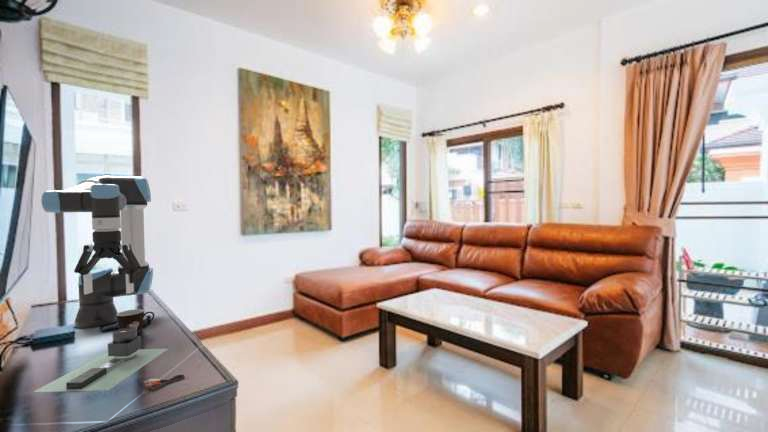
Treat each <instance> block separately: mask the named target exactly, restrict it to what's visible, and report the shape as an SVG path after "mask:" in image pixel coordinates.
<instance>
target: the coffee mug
mask: <svg viewBox="0 0 768 432" xmlns="http://www.w3.org/2000/svg"><path fill="white" fill-rule="evenodd" d="M147 314H151V315H152V317H151V319H149V321H147V322H146V323H145V324H144V325H143V322H144V318H145V316H146V315H147ZM116 316H117V321H116V322H117V325H118V330H120V329H124V328H136V329H137V336H141V337H142V334H143V329H144V328H145V327H146V326H148V325H149V324H150V323H151V322H152V321H153V320H154V318H155V313H154V312H153V311H146V312H145V310H144V309H140V308H135V309H129V310H123V311H120V312H118V313H117V314H116Z"/></svg>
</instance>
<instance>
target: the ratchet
mask: <svg viewBox="0 0 768 432" xmlns="http://www.w3.org/2000/svg"><path fill="white" fill-rule="evenodd" d="M136 356H137V351H136V352H134V353H132V354H131V355H129V356H114V359H112V360H110V361H109V362H107V363H105V364H103V365H102V366H100V367H98V368H92V369H90V370H88V371H86V372H85V373H83V374H81V375H79V376H78V377H76V378H74V379H72V380H71V381H69V382H67V383H66V388H67V389H82V388H84V387H86V386H87V385H89V384H90V383H92V382H94V381H95V380H97V379H98V378H100V377H102V376H103V375H105V374H107V372H108V371H110V370H112V369H113V368H115V367H117V366H118V365H120V364H121V363H123V362H124V361H128V360H131V359H134V358H135V357H136Z"/></svg>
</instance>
